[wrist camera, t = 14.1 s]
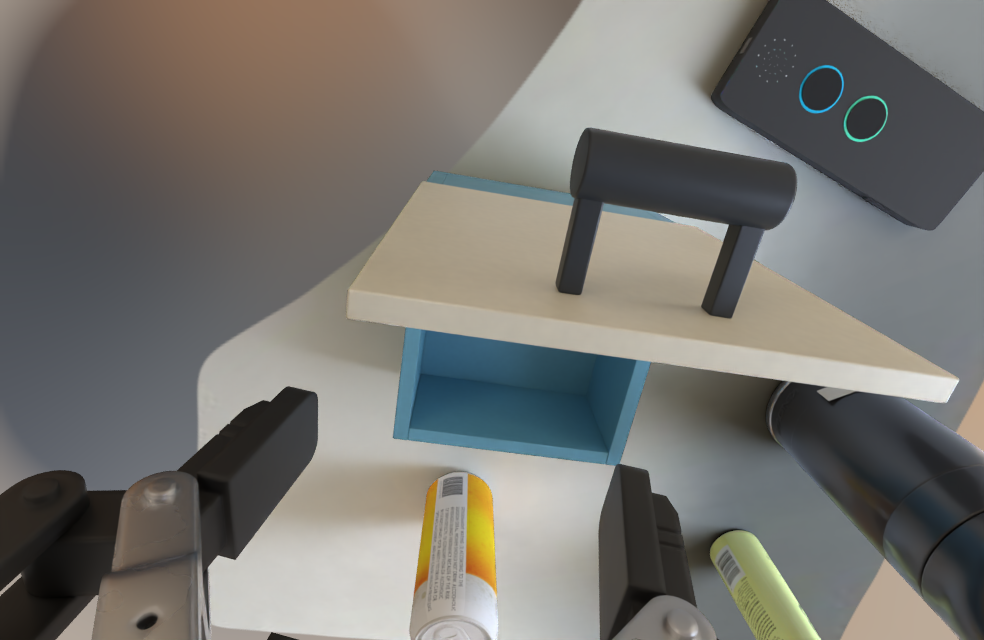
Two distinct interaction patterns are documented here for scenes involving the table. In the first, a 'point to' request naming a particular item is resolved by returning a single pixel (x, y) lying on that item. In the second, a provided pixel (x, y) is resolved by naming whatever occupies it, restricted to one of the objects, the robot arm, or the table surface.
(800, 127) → the smart home device
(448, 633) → the beer can
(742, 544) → the tube
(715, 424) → the table surface
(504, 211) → the lid
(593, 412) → the blue open box
